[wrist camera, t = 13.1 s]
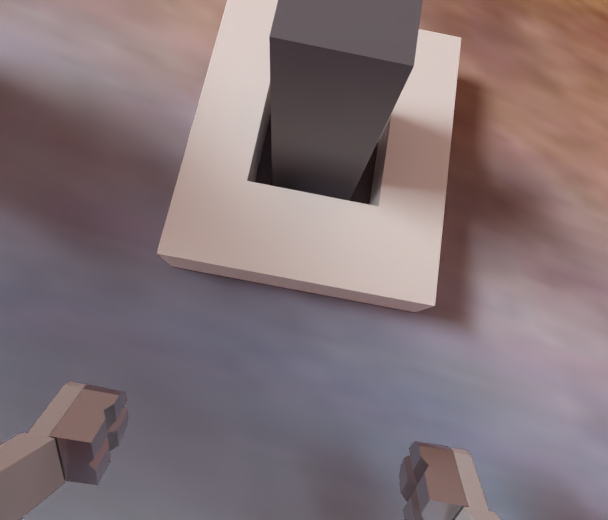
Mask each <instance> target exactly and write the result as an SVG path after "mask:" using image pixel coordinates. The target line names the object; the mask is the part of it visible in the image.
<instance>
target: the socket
mask: <svg viewBox="0 0 608 520" xmlns="http://www.w3.org/2000/svg"><path fill="white" fill-rule="evenodd" d="M277 3H278V0H227V3H226V7H225V10H224V14H223V18H222V21H221V25H220V28H219V32H218V35H217V39H216V43H215V46H214V50H213V53H212V57H211V60H210V64H209V68H208V71H207V75H206V78H205V82H204V85H203V89H202V93H201V96H200V100H199V103H198V107H197V111H196V114H195V118H194V121H193V125H192V128H191V132H190V136H189V139H188V143H187V146H186V150H185V153H184V157H183V161H182V164H181V168H180V171H179V175H178V178H177V182H176V186H175V189H174V193H173V196H172V200H171V204H170V207H169V211H168V214H167V218H166V221H165V225H164V229H163V232H162V236H161V239H160V243H159V246H158V250H157V254H158V255H159V256H160V257H161V258H162V259H164V260H165V261H166V262H167V263H168V264H169V265H171V266H172V267H177V268H183V269H188V270H193V271H199V272H204V273H209V274H215V275H220V276H225V277H230V278H236V279H241V280H246V281H252V282H257V283H262V284H268V285H273V286H278V287H284V288H289V289H294V290H299V291H305V292H310V293H315V294H321V295H326V296H331V297H337V298H342V299H347V300H353V301H358V302H363V303H369V304H374V305H379V306H384V307H390V308H395V309H400V310H406V311H411V312H418V311H421V310H424V309H427V308H431V307H434V306H435V302H436V291H437V281H438V271H439V261H440V250H441V240H442V230H443V219H444V209H445V199H446V189H447V178H448V168H449V158H450V147H451V137H452V127H453V117H454V106H455V96H456V86H457V75H458V65H459V55H460V45H461V38H460V37H455V36H450V35H445V34H441V33H436V32H431V31H426V30H421V29H419V30H418V38H417V46H416V54H415V61H414V67H413V69H412V71H411V73H410V75H409V77H408V79H407V82H406V84H405V86H404V88H403V90H402V92H401V94H400V96H399V98H398V100H397V103H396V105H395V107H394V109H393V111H392V113H391V115H390V117H389V119H388V121H387V123H386V126H385V128H384V130H383V132H382V134H381V136H380V138H379V142H378V148H377V155H376V162H375V169H374V175H373V182H372V189H371V196H370V203H369V204H364V203H359V202H353V201H348V200H343V199H338V198H333V197H328V196H323V195H317V194H312V193H307V192H302V191H297V190H292V189H287V188H281V187H276V186H271V185H266V184H261V183H256V182H255V180H256V176H257V171H258V167H259V162H260V158H261V153H262V149H263V145H264V140H265V136H266V131H267V127H268V123H269V118H270V114H271V93H270V42H269V36H270V32H271V28H272V24H273V20H274V15H275V11H276V7H277Z"/></svg>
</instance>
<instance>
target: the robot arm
mask: <svg viewBox="0 0 608 520" xmlns="http://www.w3.org/2000/svg"><path fill="white" fill-rule="evenodd" d="M126 401H127V396H126V392H124V391H118V390H113V389H108V388H103V387H98V386H93V385H88V384H82V383H77V382H71V381H69V382H68V383H66V384H65V385H64V386H63V387H62V388H61V389H60V391H59V392H58V393H57V395H56V396H55V397H54V399H53V400H52V401H51V403H50V404H49V405H48V407H47V408H46V409H45V411H44V412H43V413H42V414H41V416H40V417H39V418H38V420H37V421H36V422H35V424H34V425H33V426H32V428H31V429H30V430H29V432H28V433H20V434H18V435H16V436H15V437H13V438H11V439H9V440H8V441H6V442H4V443H2V444H1V445H0V520H20V519H21V518H22V517H23V516H25V515H26V514H27V513H28V512H30V511H31V510H32V509H33V508H35V507H36V506H37V505H38V504H39V503H41V502H42V501H43V500H44V499H46V498H47V497H48V496H49V495H50V494H52V493H53V492H54V491H55V490H57V489H58V488H59V487H60V486H62V485H63V484H64V483H65V481H71V482H79V483H86V484H94V485H98V484H99V482H100V480H101V478H102V476H103V474H104V473H105V471H106V469H107V467H108V465H109V463H110V451H111V450H113V449H114V448H115V447H117V446H118V445H119V443H120V441H121V439H122V437H123V435H124V432H125V429H126V426H127V421H128V410H127V409H126V408H125V407H124V404H125V403H126ZM409 450H410V455H409V456H407V457H405V458H404V460H403V462H402V464H401V468H400V475H399V479H400V490H401V494H402V495H403V497H404V498H405V499H406V501H407V504H406V506H405V507H404V509H403V512H404V518H405V520H501V519H500V518H499V517H498V515H497V514H496V513H495V512H492V511H489V509H488V506H487V503H486V500H485V497H484V494H483V491H482V487H481V484H480V481H479V478H478V475H477V472H476V469H475V466H474V463H473V460H472V457H471V454H470V453H469V452H468V450H464V449H457V448H451V447H448V446H442V445H436V444H429V443H423V442H417V441H415V442H413V443H412V444H411V446H410V448H409Z"/></svg>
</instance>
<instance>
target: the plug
mask: <svg viewBox="0 0 608 520" xmlns="http://www.w3.org/2000/svg"><path fill="white" fill-rule="evenodd" d="M421 7H422V0H278V3H277V7H276V11H275V15H274V20H273V24H272V28H271V32H270V36H269V42H270V93H271V144H272V186H276V187H281V188H287V189H292V190H297V191H302V192H307V193H312V194H317V195H323V196H328V197H333V198H338V199H343V200H348V201H350V199H351V197H352V195H353V193H354V190H355V188H356V186H357V184H358V182H359V180H360V178H361V176H362V174H363V172H364V170H365V167H366V165H367V163H368V161H369V159H370V157H371V155H372V153H373V151H374V149H375V146H376V144H377V142H378V140H379V138H380V136H381V134H382V132H383V130H384V128H385V126H386V123H387V121H388V119H389V117H390V115H391V113H392V111H393V109H394V107H395V105H396V103H397V100H398V98H399V96H400V94H401V92H402V90H403V88H404V86H405V84H406V82H407V79H408V77H409V75H410V73H411V71H412V69H413V67H414V61H415V54H416V46H417V38H418V30H419V23H420V15H421Z"/></svg>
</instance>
